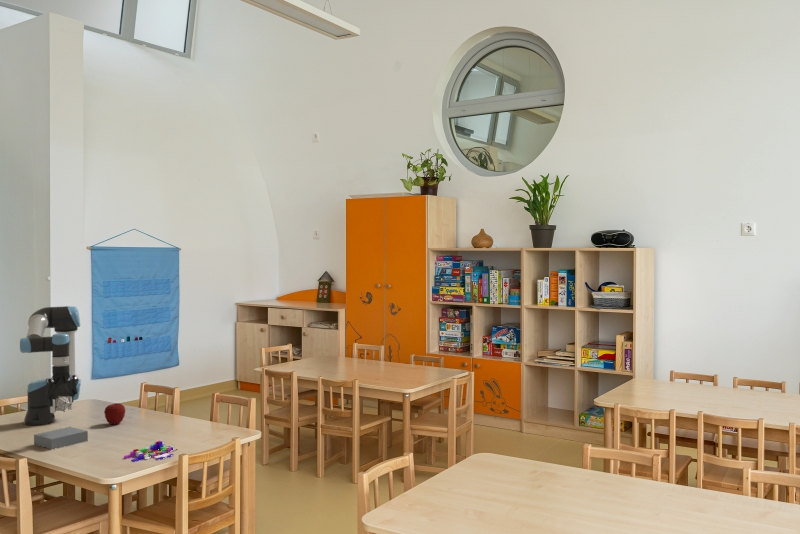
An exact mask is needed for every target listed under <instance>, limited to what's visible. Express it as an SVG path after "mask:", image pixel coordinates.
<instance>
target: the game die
mask: <svg viewBox="0 0 800 534" xmlns="http://www.w3.org/2000/svg"><path fill="white" fill-rule="evenodd" d="M67 396H68V395H67ZM67 396H59V395H58V397H57V398H56V399H55V413H56V411H58V412H63V413H65V412H66V411H65V410H67V409H68V406H69V405H72V406H73V403H72V404H70V402H69V400H68V398H67Z"/></svg>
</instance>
